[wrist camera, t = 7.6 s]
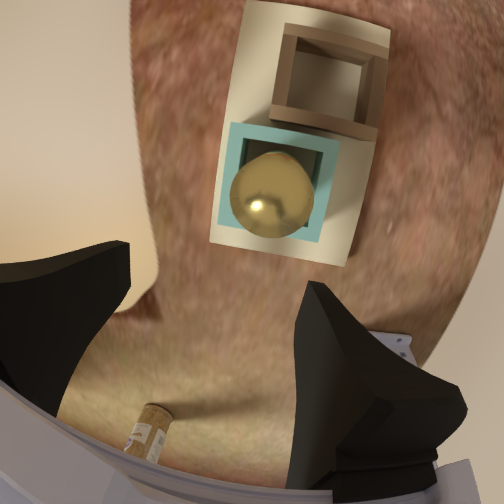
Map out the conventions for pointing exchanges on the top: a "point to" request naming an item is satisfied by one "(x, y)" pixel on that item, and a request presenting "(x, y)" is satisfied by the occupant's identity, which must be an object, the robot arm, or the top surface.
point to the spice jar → (149, 433)
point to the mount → (340, 49)
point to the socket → (323, 146)
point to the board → (306, 98)
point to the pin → (272, 195)
